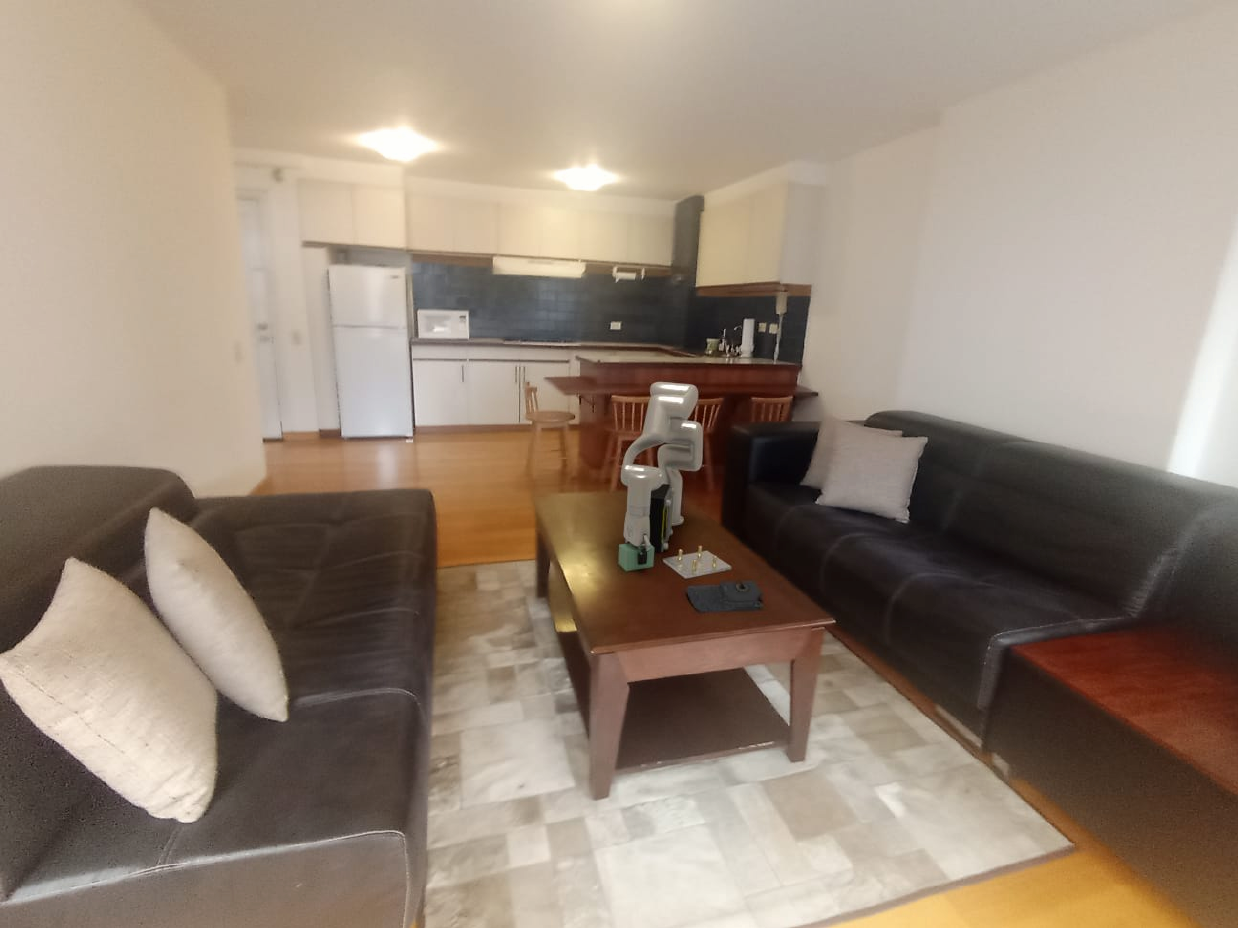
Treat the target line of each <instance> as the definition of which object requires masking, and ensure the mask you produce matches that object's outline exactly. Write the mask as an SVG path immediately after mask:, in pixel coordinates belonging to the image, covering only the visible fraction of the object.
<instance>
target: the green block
mask: <svg viewBox="0 0 1238 928" xmlns="http://www.w3.org/2000/svg"><path fill="white" fill-rule="evenodd" d="M641 544H644V543H643V542H642V543H641ZM641 548H642V549H643V548H644V546H641ZM638 553H639V549H638V546H637V547H636V546H634V545H633V544H632V543H621V544H618V562H617V563H618V565H619V566H620V567H621V568H622V569H623V570H624V571H625V572H629V571H630V572H631V571H636V570H642V569H650V568H653V567H654V562H655V561H654V559H655V552H654V547H653V546H652V545H651V548H650V550H649V551H648V553H647V564H643V565H638Z"/></svg>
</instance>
